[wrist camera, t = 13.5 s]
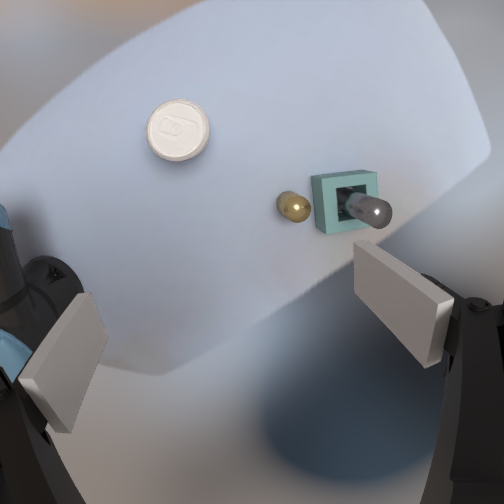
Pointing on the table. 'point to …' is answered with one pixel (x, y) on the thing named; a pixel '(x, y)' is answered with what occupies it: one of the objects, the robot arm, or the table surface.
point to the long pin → (364, 207)
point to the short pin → (293, 206)
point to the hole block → (327, 199)
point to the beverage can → (178, 130)
